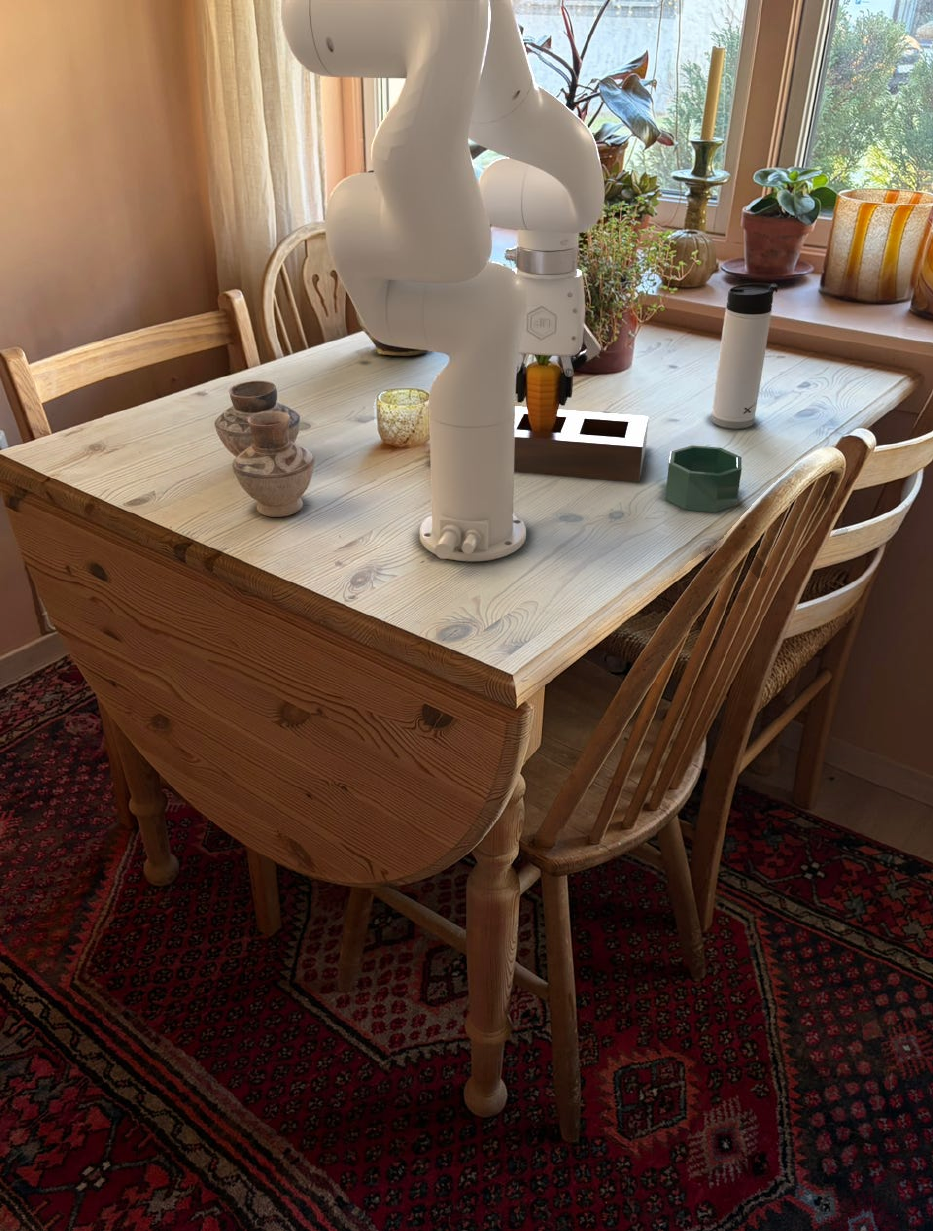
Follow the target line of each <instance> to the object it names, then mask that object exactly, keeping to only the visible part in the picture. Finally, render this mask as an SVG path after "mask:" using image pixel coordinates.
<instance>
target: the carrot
mask: <svg viewBox="0 0 933 1231" xmlns="http://www.w3.org/2000/svg"><path fill="white" fill-rule="evenodd" d="M533 356H534V358H535V361H532V362H531V363H529V364H528V365H527V366H526V370H525V396H526V397H525V405H526V406H525V407H527V412H528V418H529V422H530V425H531V428H532V431H539V432H551V431H552V428H553V426H554V424H555V421H556V417H557V413H558V410H559V408H560V404H559V395H560V377H561V375H562V372H563V369H562V368H561V367H560V365H559V364H558V362H556V361H553V360H550V359H551V358H552V357H553V356H548V355H533Z"/></svg>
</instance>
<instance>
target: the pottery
mask: <svg viewBox="0 0 933 1231" xmlns="http://www.w3.org/2000/svg"><path fill="white" fill-rule="evenodd" d="M277 390H278V389H277V386H276V384H275V383H273V382H271V381H267V380H249V381H244V382H243V381H242V382H239V383H237V384H235V385H233V386H231V387H229V389H228V393H229V397H230V401H231V404H232V406H230V407H228V408H227V409H226V410H224V411H223V412H222V413H221V414H219V416H217V418H216V419H215V421H214V428H215V432H216V434H217V436H218V438H219V440H220V442H221V443H222V444H223V446H224V447H225V449H226V450H228V451H229V452H230V453H231V454H232V455H233V456H235V458H234V460H233V461H232V464H231V465H232V469H233V470H232V471H233V473H234V475H235V477H236V479H237V481H238V483H239V485H240V486H241V488H242V489H243V490H244V492H245V493H246V494H247V495H248V496H249V497H251V498H252V499H253V500H255V501H256V502H257V504H256V510H257V512H258V513H259V514H261V515H263V516H266V517H271V518H273V517H274V518H276V517H277V518H279V517H281V518H283V517H288V516H291V515H293V514H295V513H297V512H299V511H300V510H302V509H303V506H304V501H303V499H302V496H303V495H304V494H305V492H306V491H307V490H308V488H309V486H310V483H311V480H312V476H313V472H314V467H315V455H314V454H313V453H312V451H310V450H309V449H307V448H306V447H304V446H302V445H300V444H297V443H296V440H297V438H298V435H299V433H300V427H301V426H300V425H301V416H300V414H299V413H298V412H297V411H296V410H294V409H293V408H291V407H289V406H287V405H285V404H282V403H280V402H278V391H277Z"/></svg>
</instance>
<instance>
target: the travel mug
mask: <svg viewBox="0 0 933 1231" xmlns="http://www.w3.org/2000/svg"><path fill="white" fill-rule="evenodd" d="M778 290H779V289H778V285H777V283H761V282H753V283H752V282H751V283H743V284H739V285H734V286H732V287H730V288H729V290H728V292H727V299H726V300H727V302H726V306H725V312H724V318H723V326H722V333H721V342H720V349H719V356H718V365H717V371H716V380H715V387H714V395H713V403H712V410H711V417H710V419H711V421H712V423H713V424H715V425H716V426H718V427H722V428H724V429H731V430H739V429H740V430H741V429H746V428H749V427H751V426H753V425H754V424H755V419H756V412H757V407H758V399H759V393H760V387H761V380H762V374H763V368H764V363H765V362H764V361H765V355H766V349H767V343H768V337H769V331H770V323H771V317H772V307H773V305H772V304H773V302H774V292H775V293H778Z"/></svg>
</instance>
